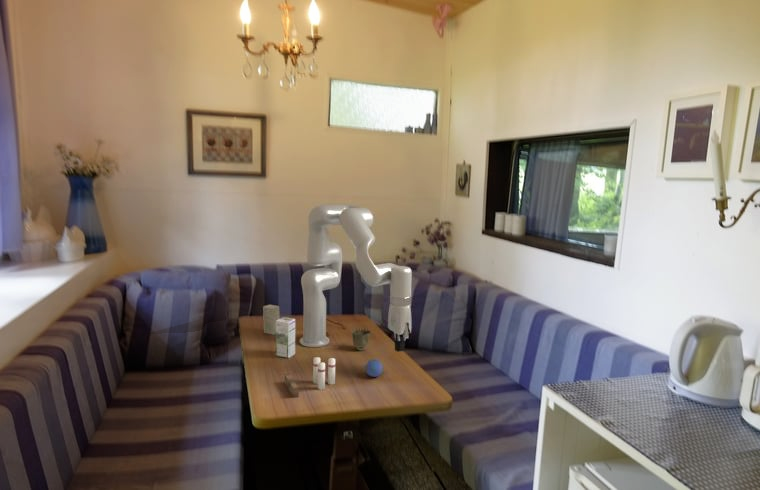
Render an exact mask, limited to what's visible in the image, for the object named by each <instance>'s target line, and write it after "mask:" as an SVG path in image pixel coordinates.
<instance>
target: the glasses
mask: <svg viewBox="0 0 760 490" xmlns="http://www.w3.org/2000/svg"><path fill="white" fill-rule="evenodd" d="M327 321H328V322H330V323H332V324H334V325H338V326H339V325H340V326H341V327H342V328H343V329H345V330H346V329H347V328H346V327H345V326H344V324H342V323H340V322H335V321H333V320H331V319H329V318H327V317H326V322H327ZM326 335H327V336H328V337H330V336H331V335H330V334H329V332H328V331H327V330H326Z"/></svg>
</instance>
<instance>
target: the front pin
mask: <svg viewBox="0 0 760 490" xmlns="http://www.w3.org/2000/svg"><path fill="white" fill-rule="evenodd" d="M327 359H328V360H327V361H328V362H327V363H328V364H327V366H328V368H327V384H328V385H335V384H336V358H334V357H330V358H327Z"/></svg>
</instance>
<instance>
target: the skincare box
mask: <svg viewBox="0 0 760 490" xmlns="http://www.w3.org/2000/svg"><path fill="white" fill-rule="evenodd" d="M262 312H263V314H262V317H263V333H265V334H268V335H276V321H277V320H278V319H280V318H281V317H280V306H279V305H274V304H267V305H264V306H263V305H262Z"/></svg>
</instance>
